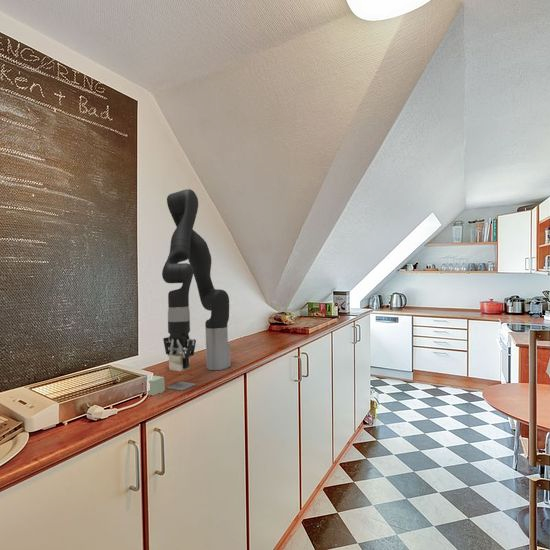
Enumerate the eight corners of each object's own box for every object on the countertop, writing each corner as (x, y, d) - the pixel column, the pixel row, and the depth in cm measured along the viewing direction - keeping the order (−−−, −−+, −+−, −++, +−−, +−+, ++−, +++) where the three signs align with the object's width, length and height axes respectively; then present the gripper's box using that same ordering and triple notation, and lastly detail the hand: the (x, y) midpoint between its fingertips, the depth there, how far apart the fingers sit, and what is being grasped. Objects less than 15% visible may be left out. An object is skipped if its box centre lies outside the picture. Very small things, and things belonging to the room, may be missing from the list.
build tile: (181, 382, 130) (181, 381, 130) (196, 385, 126) (196, 383, 126) (166, 388, 124) (166, 387, 124) (182, 391, 120) (182, 389, 120)
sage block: (154, 389, 123) (153, 375, 123) (164, 391, 120) (164, 377, 120) (142, 394, 118) (142, 379, 118) (153, 396, 116) (152, 381, 116)
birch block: (179, 366, 128) (179, 352, 128) (189, 367, 126) (189, 353, 126) (169, 369, 124) (168, 355, 124) (179, 371, 122) (179, 356, 122)
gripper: (156, 319, 125) (157, 367, 125) (186, 321, 118) (187, 372, 118) (172, 317, 132) (173, 363, 132) (201, 319, 125) (202, 367, 125)
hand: (179, 367), depth 125 cm, fingers closed on birch block, 5 cm apart
